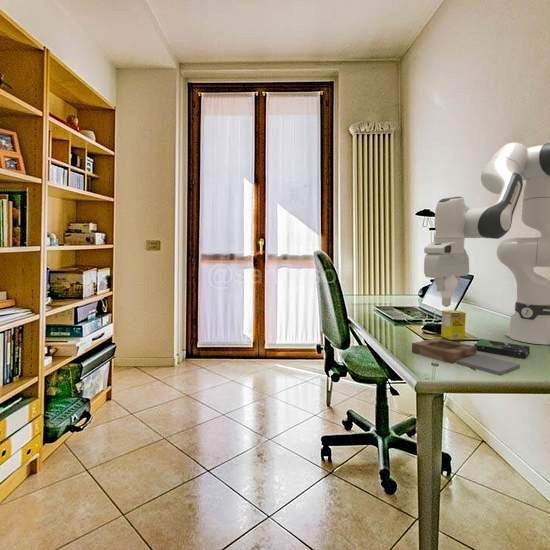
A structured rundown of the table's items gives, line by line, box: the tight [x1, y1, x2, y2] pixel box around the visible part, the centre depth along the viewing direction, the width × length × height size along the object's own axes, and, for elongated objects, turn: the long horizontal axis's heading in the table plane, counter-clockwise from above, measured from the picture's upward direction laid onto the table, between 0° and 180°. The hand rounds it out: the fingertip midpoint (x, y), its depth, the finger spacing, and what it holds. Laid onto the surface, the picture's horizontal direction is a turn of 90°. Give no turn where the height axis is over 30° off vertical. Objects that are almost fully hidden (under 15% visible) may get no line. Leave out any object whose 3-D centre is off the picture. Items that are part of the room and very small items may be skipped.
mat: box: [456, 353, 521, 376], centre depth 107 cm, size 12×12×1 cm
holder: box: [411, 337, 477, 364], centre depth 119 cm, size 14×14×3 cm
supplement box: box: [440, 309, 467, 342], centre depth 138 cm, size 6×6×11 cm
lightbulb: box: [440, 275, 459, 308], centre depth 117 cm, size 6×6×11 cm
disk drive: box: [473, 338, 531, 360], centre depth 122 cm, size 10×3×15 cm
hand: (446, 290), depth 117 cm, fingers closed on lightbulb, 6 cm apart
